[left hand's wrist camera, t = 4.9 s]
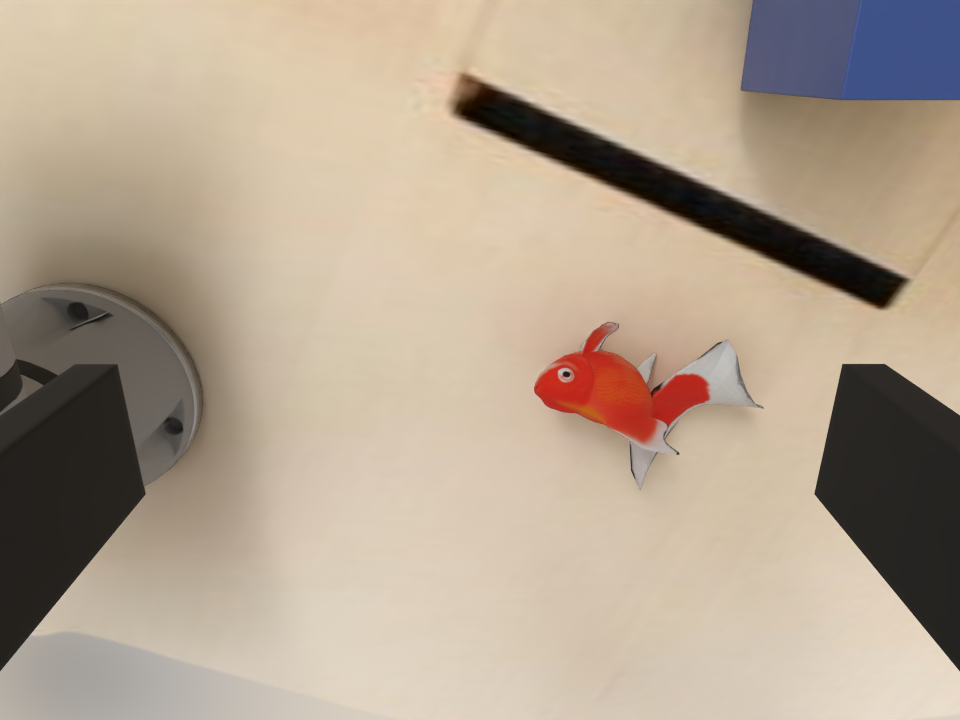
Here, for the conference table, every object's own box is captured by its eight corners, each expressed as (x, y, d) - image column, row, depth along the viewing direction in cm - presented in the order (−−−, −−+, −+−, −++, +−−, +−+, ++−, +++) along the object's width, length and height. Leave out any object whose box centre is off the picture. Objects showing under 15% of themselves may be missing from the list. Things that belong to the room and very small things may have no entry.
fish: (602, 240, 39) (663, 377, 33) (757, 312, 48) (828, 431, 42) (494, 350, 45) (529, 482, 39) (649, 396, 54) (697, 511, 48)
